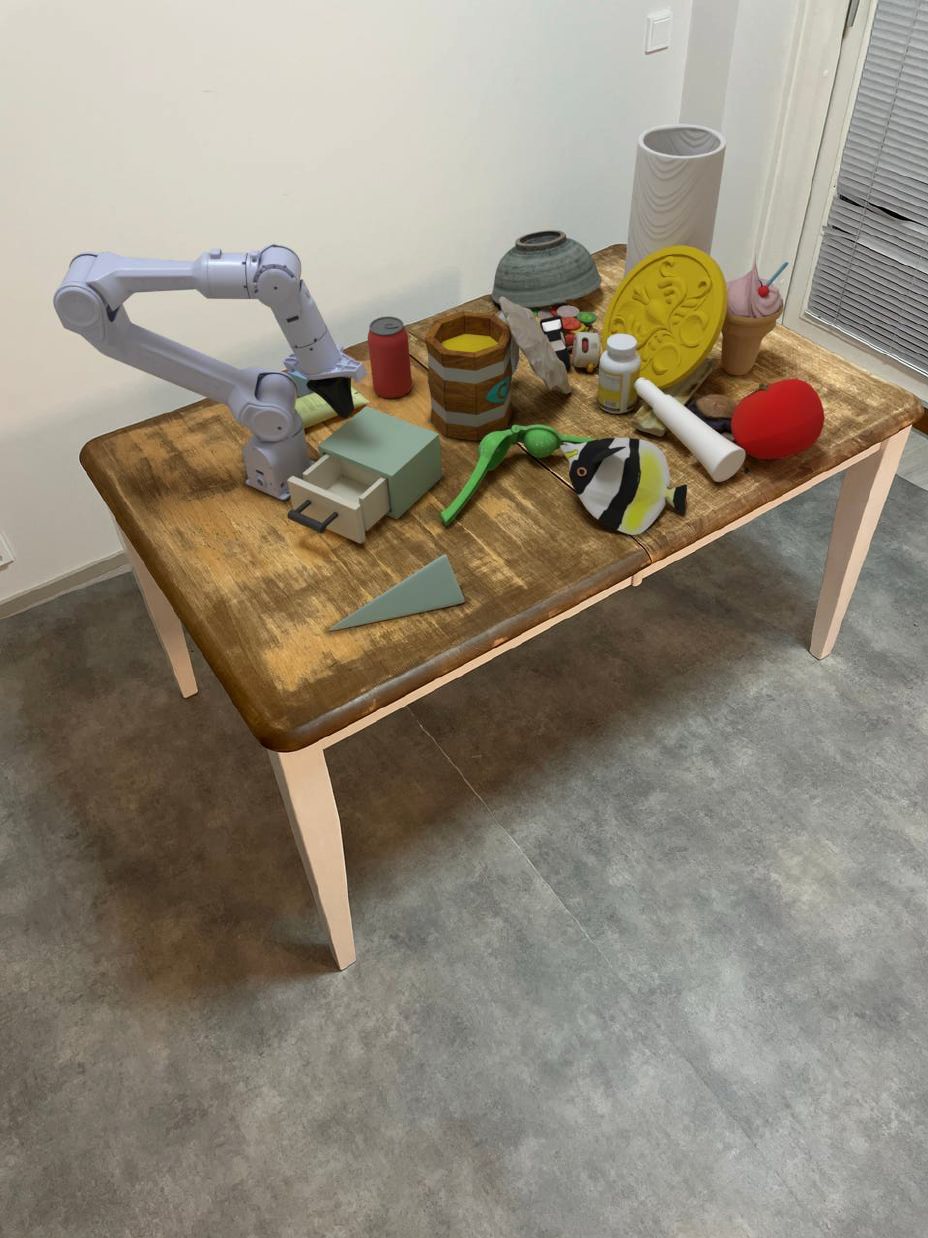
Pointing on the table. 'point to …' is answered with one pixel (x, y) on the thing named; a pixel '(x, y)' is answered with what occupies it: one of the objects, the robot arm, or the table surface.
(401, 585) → the thin wedge-shaped triangle plate
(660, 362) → the decorative medallion
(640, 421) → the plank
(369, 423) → the drawer cabinet
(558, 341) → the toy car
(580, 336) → the roller toy
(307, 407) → the tube
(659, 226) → the vase
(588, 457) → the fish
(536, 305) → the bowl
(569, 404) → the table surface
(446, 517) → the lime squeezer
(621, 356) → the pill bottle
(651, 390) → the cosmetic bottle
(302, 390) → the pale blue cube
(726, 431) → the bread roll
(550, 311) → the toy food set
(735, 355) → the ice cream cone
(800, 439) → the tomato
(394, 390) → the beer can
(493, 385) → the mug
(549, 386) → the stone tool
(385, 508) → the cream drawer
